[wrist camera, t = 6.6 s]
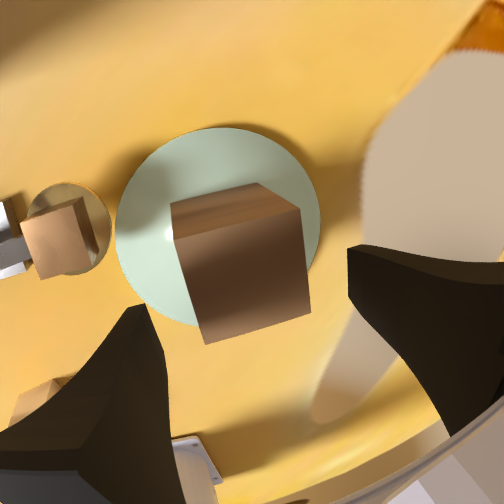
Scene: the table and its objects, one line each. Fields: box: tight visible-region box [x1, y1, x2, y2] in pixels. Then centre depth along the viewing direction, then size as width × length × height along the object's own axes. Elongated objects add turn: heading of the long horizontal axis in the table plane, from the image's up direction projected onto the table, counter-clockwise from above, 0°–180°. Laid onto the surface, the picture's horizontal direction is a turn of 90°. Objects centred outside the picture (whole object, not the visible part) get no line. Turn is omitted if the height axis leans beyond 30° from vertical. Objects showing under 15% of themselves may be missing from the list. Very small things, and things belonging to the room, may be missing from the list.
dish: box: [115, 128, 320, 326], centre depth 17 cm, size 11×11×1 cm
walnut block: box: [170, 182, 311, 345], centre depth 14 cm, size 4×4×6 cm
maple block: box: [8, 379, 62, 428], centre depth 16 cm, size 4×4×6 cm
